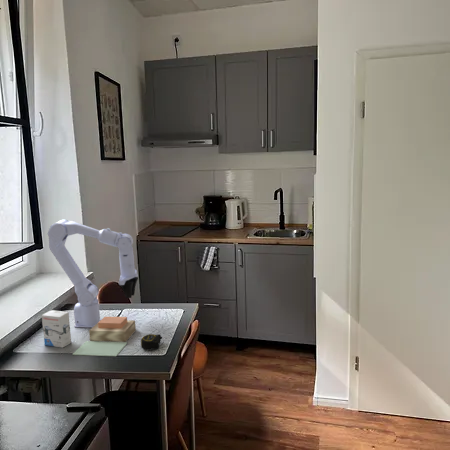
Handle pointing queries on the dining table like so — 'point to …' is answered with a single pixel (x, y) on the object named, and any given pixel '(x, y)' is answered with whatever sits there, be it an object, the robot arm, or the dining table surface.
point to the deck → (113, 332)
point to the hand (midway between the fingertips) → (130, 296)
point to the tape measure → (150, 341)
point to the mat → (100, 348)
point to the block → (112, 322)
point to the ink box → (56, 328)
